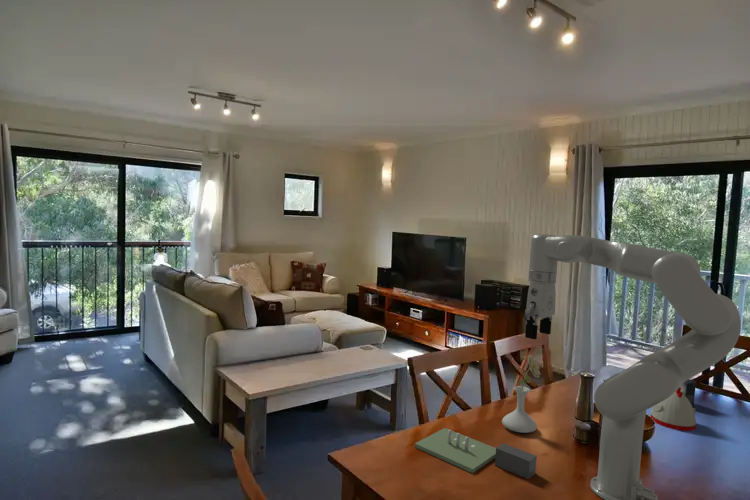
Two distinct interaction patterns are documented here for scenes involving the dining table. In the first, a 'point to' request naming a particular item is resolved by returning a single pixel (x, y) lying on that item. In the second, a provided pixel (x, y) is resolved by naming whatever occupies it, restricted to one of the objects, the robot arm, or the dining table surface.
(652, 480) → the dining table surface
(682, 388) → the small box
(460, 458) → the board
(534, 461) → the plug housing
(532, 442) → the dining table surface
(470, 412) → the dining table surface
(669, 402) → the kitchen timer
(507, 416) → the flower in vase
